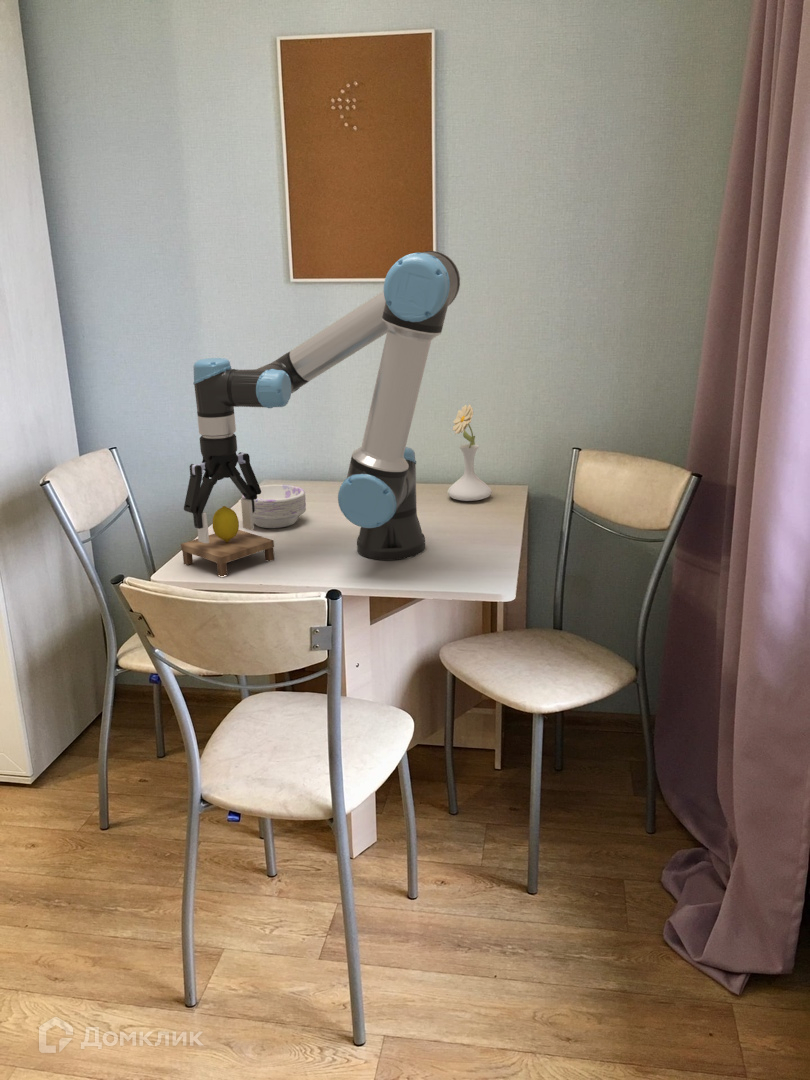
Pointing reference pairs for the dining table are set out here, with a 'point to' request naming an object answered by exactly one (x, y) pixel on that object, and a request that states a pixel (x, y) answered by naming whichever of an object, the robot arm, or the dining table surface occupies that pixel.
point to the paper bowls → (278, 506)
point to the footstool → (227, 549)
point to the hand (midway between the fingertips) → (226, 535)
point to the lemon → (225, 523)
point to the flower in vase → (468, 463)
